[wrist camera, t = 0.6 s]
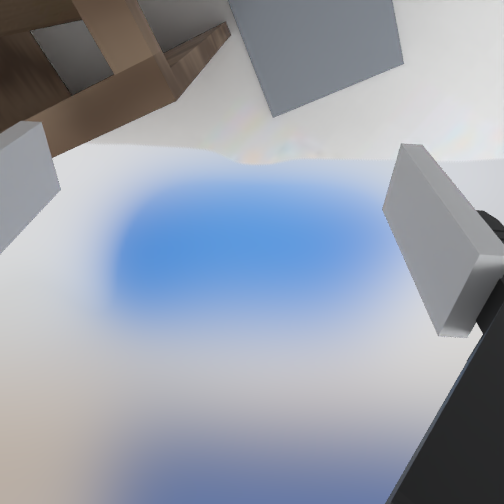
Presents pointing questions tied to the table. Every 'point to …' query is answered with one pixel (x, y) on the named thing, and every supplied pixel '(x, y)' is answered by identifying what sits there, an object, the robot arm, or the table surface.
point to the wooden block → (34, 14)
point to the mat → (316, 45)
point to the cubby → (108, 90)
